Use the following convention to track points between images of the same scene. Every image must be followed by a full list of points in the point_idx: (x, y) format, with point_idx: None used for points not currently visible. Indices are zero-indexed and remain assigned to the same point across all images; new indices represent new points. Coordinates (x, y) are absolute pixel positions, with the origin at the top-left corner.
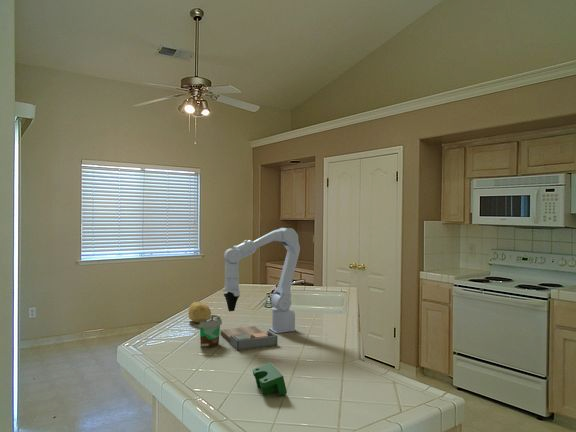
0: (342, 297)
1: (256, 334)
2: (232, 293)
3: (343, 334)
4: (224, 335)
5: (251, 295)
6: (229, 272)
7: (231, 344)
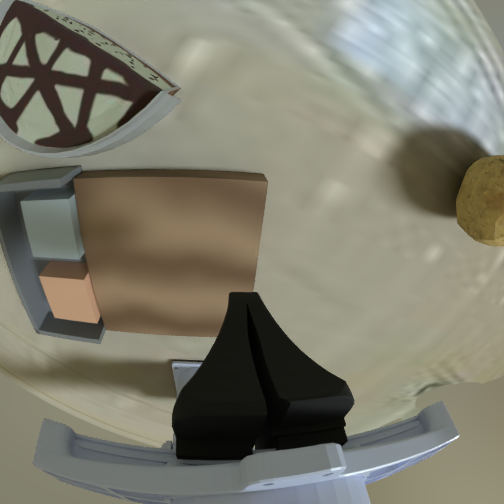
0: None
1: (73, 293)
2: (175, 457)
3: (124, 429)
4: (186, 174)
5: (492, 366)
6: None
7: (63, 168)
